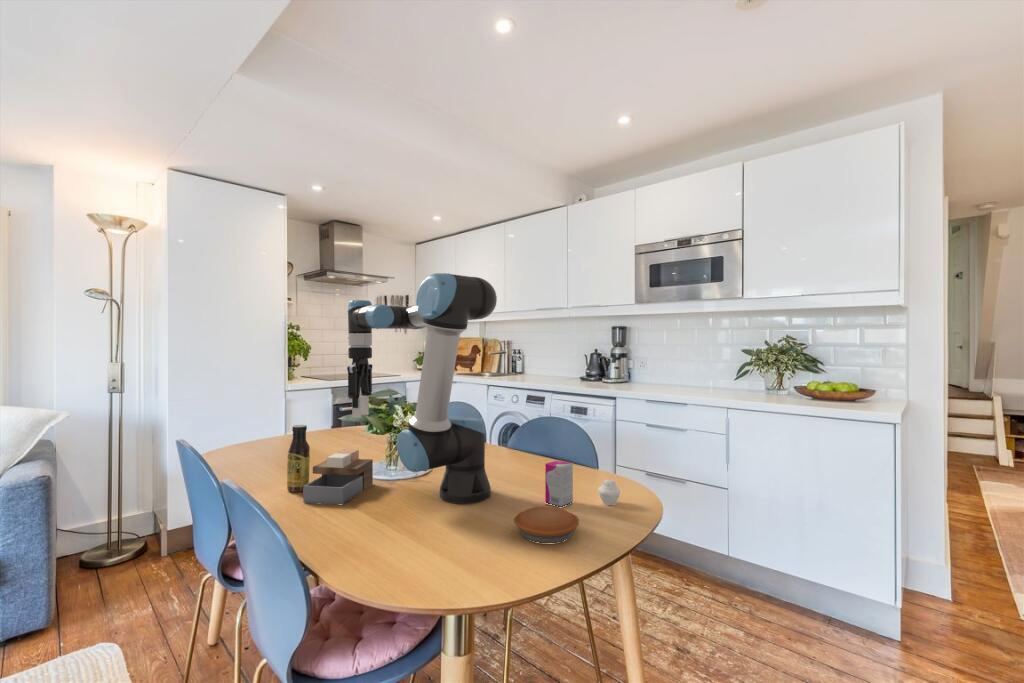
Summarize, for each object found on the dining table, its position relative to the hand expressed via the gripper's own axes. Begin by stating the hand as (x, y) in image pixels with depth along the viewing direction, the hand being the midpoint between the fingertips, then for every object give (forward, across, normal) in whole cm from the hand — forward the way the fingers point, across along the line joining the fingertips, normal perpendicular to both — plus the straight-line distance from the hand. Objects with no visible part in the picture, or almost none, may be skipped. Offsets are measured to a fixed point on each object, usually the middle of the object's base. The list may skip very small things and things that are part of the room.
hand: (360, 416), depth 158 cm
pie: (+21, +36, +65) cm, 77 cm away
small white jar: (+21, +13, +81) cm, 85 cm away
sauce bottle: (+21, +14, -13) cm, 29 cm away
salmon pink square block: (+13, +9, 0) cm, 16 cm away
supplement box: (+21, +15, +67) cm, 72 cm away
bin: (+21, +19, +1) cm, 28 cm away
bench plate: (+21, +12, 0) cm, 24 cm away
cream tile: (+13, +14, 0) cm, 19 cm away
